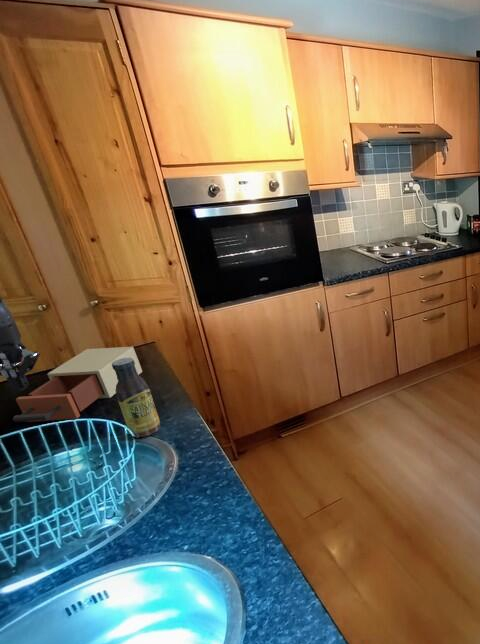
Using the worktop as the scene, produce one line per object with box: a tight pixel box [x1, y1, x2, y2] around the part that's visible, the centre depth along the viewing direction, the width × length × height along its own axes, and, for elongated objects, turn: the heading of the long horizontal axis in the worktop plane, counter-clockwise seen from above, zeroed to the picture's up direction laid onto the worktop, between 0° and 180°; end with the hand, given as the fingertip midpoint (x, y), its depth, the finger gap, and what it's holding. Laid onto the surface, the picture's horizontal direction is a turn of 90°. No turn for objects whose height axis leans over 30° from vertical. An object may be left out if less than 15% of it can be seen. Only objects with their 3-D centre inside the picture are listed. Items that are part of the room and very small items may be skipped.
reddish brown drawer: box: [12, 374, 104, 423], centre depth 118 cm, size 19×12×7 cm, turn 7°
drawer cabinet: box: [46, 346, 143, 400], centre depth 131 cm, size 15×13×9 cm
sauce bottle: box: [112, 358, 161, 439], centre depth 109 cm, size 7×6×20 cm
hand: (21, 388), depth 108 cm, fingers closed
